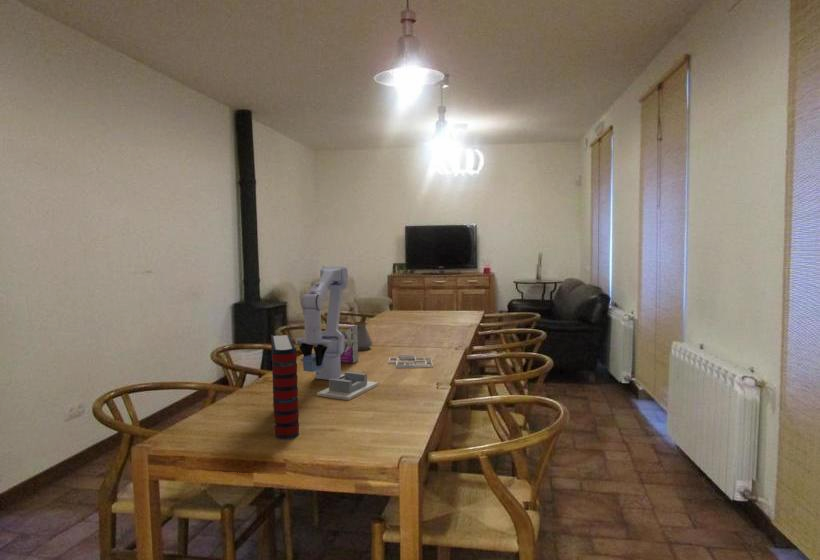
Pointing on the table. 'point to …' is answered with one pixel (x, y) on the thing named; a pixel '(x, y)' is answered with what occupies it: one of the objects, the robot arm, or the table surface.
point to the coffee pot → (363, 336)
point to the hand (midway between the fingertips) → (314, 364)
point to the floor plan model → (410, 362)
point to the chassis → (347, 386)
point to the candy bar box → (349, 343)
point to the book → (285, 387)
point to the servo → (311, 363)
